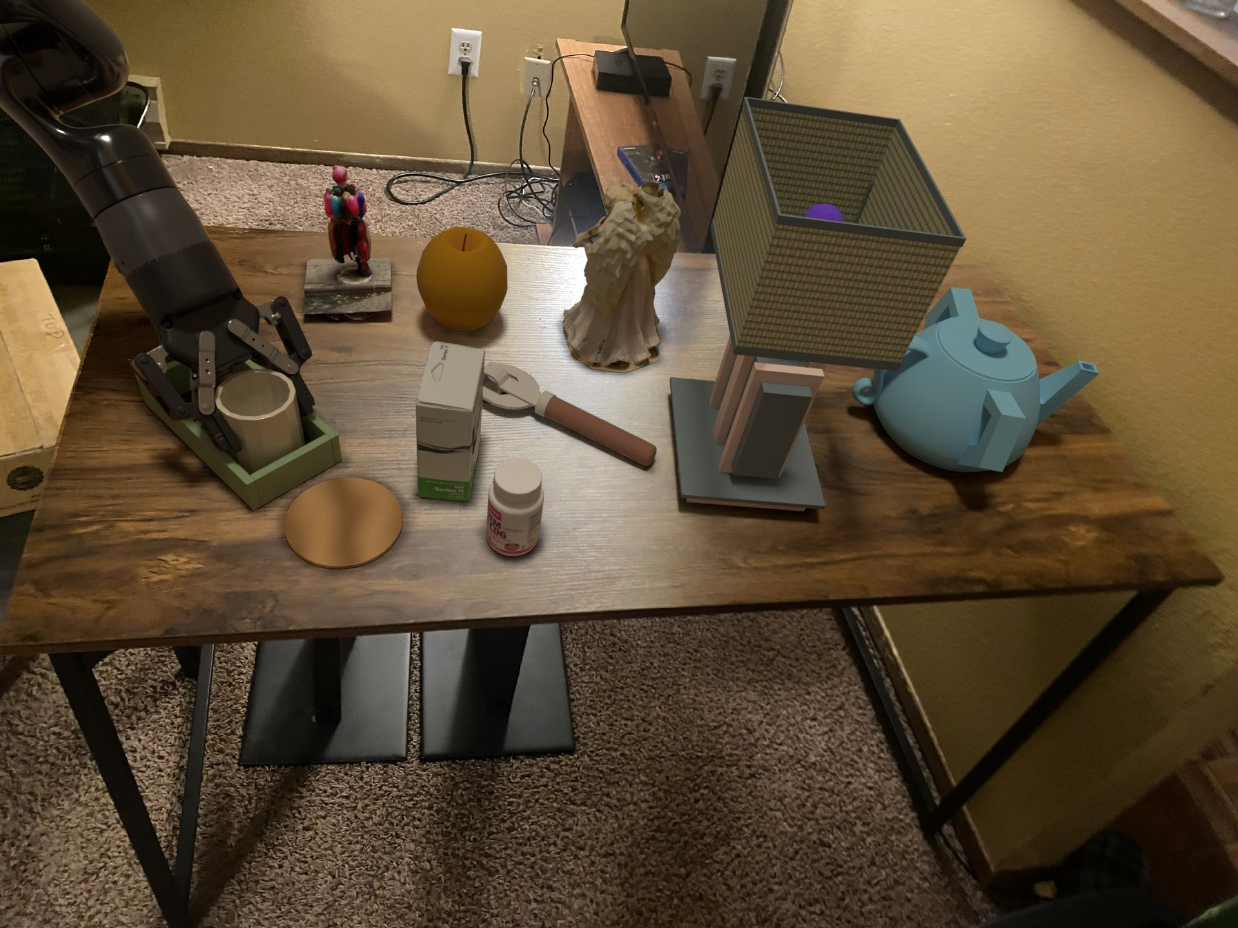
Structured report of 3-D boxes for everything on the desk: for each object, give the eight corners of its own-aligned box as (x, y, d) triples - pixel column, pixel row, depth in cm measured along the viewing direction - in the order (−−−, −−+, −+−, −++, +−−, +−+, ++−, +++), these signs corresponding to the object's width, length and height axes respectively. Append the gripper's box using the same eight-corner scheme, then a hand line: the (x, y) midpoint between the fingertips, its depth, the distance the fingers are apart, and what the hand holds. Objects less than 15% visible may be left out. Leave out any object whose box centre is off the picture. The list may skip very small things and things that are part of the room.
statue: (309, 274, 99) (290, 146, 89) (391, 273, 101) (382, 149, 91) (303, 322, 91) (281, 188, 81) (392, 321, 93) (381, 190, 83)
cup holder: (342, 460, 78) (338, 434, 76) (253, 510, 73) (246, 484, 71) (234, 364, 85) (228, 337, 82) (145, 404, 80) (135, 376, 77)
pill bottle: (475, 544, 74) (478, 482, 68) (501, 508, 77) (506, 446, 71) (523, 565, 73) (530, 504, 67) (547, 528, 77) (556, 467, 71)
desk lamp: (818, 528, 82) (970, 239, 58) (677, 517, 80) (774, 214, 56) (788, 400, 94) (903, 119, 70) (665, 389, 92) (741, 96, 69)
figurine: (567, 300, 101) (588, 142, 86) (662, 318, 101) (698, 164, 87) (551, 363, 92) (571, 200, 78) (655, 382, 93) (693, 224, 78)
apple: (431, 357, 90) (429, 265, 82) (407, 303, 96) (403, 212, 87) (516, 343, 94) (523, 254, 85) (488, 292, 99) (492, 204, 91)
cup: (241, 490, 74) (223, 427, 69) (225, 442, 78) (207, 378, 72) (314, 471, 77) (303, 409, 71) (295, 425, 81) (284, 362, 75)
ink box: (470, 503, 77) (473, 411, 69) (416, 497, 77) (412, 404, 68) (482, 437, 83) (486, 344, 75) (432, 430, 83) (431, 337, 74)
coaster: (302, 584, 69) (301, 581, 69) (271, 498, 74) (271, 495, 74) (419, 547, 73) (419, 544, 73) (382, 468, 79) (382, 465, 78)
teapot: (961, 511, 86) (1028, 415, 76) (822, 402, 95) (866, 303, 85) (1049, 441, 96) (1119, 348, 86) (916, 348, 105) (966, 254, 95)
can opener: (666, 438, 87) (672, 418, 85) (646, 475, 83) (651, 455, 81) (490, 369, 90) (491, 347, 88) (463, 402, 86) (463, 380, 84)
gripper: (86, 276, 62) (207, 470, 67) (259, 216, 71) (357, 392, 75) (73, 300, 68) (185, 476, 72) (234, 242, 77) (327, 403, 81)
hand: (272, 433), depth 74 cm, fingers closed on cup, 6 cm apart
